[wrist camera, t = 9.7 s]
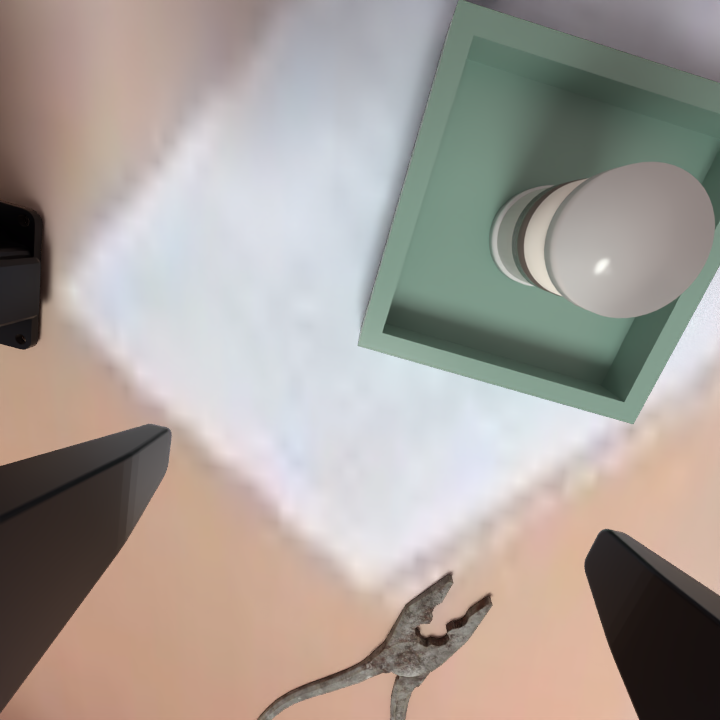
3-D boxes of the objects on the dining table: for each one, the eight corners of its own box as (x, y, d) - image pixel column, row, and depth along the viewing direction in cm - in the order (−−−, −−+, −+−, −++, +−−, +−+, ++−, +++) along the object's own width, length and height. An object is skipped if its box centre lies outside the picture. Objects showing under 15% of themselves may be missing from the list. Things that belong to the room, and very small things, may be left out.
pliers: (237, 763, 29) (335, 543, 23) (241, 748, 29) (337, 531, 23) (370, 802, 29) (499, 598, 23) (370, 787, 30) (495, 586, 24)
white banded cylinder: (474, 268, 18) (532, 293, 11) (510, 174, 17) (600, 140, 10) (558, 295, 18) (664, 335, 11) (599, 204, 17) (746, 190, 10)
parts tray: (360, 331, 19) (357, 345, 17) (446, 33, 16) (458, -1, 13) (602, 400, 20) (633, 424, 17) (741, 127, 16) (803, 110, 14)
